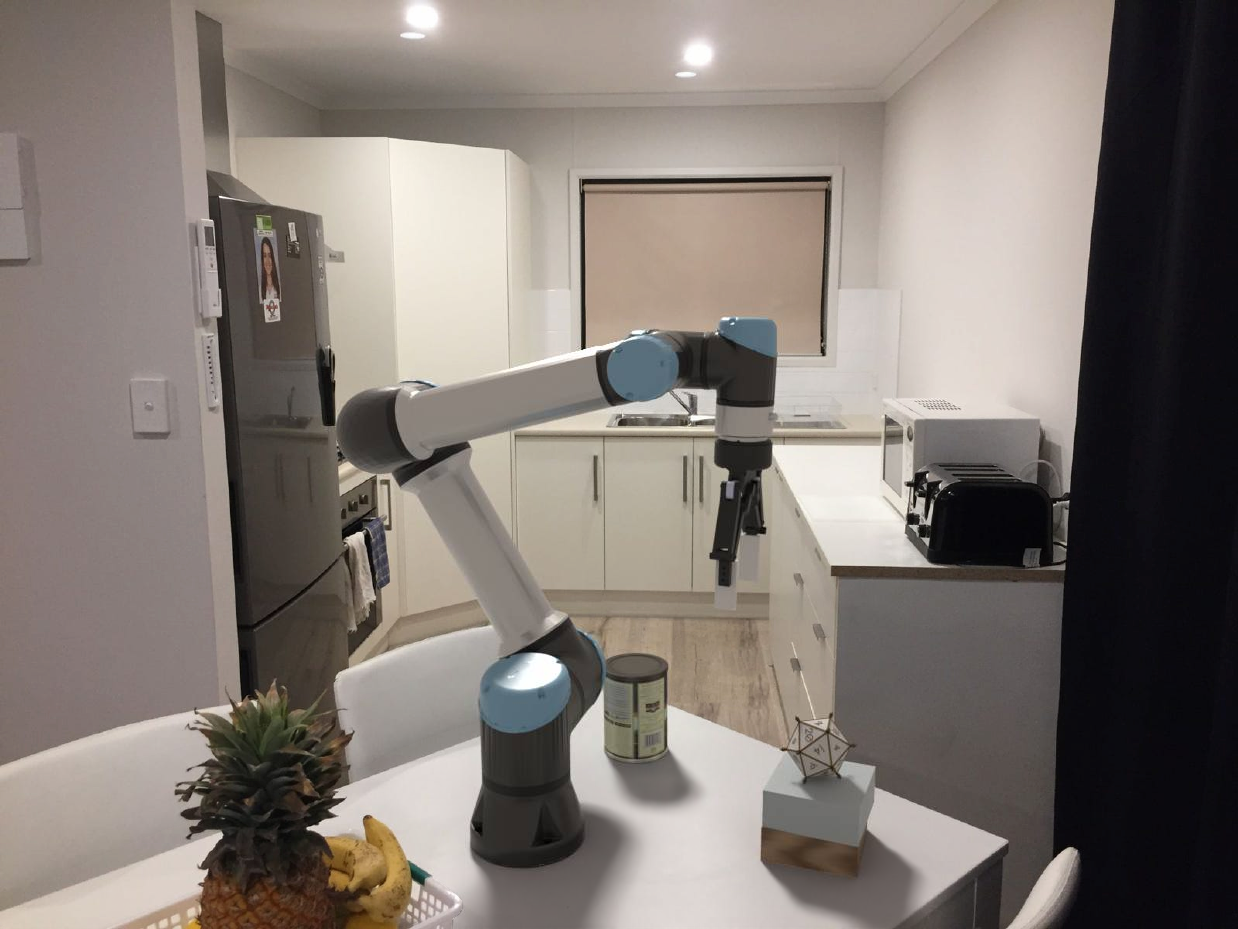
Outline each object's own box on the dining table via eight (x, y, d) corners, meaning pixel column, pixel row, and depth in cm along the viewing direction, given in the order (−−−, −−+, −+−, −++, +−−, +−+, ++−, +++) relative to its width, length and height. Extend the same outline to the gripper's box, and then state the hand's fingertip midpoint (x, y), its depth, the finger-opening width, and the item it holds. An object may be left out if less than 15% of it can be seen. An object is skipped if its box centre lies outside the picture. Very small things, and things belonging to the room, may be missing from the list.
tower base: (760, 864, 127) (761, 827, 126) (778, 818, 138) (778, 784, 137) (856, 882, 123) (858, 845, 122) (866, 833, 134) (868, 799, 133)
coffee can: (624, 729, 165) (624, 648, 163) (679, 744, 160) (680, 660, 157) (590, 753, 156) (589, 668, 154) (646, 770, 151) (647, 681, 149)
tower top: (762, 827, 126) (762, 790, 126) (785, 784, 137) (786, 750, 136) (858, 847, 122) (859, 809, 121) (874, 801, 133) (875, 766, 132)
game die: (828, 809, 128) (852, 773, 121) (766, 779, 130) (787, 742, 123) (846, 752, 134) (870, 715, 127) (787, 724, 136) (807, 686, 129)
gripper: (751, 453, 117) (744, 626, 121) (789, 426, 140) (782, 572, 144) (689, 448, 119) (684, 618, 123) (737, 423, 143) (731, 567, 146)
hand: (737, 594), depth 133 cm, fingers open, 13 cm apart
